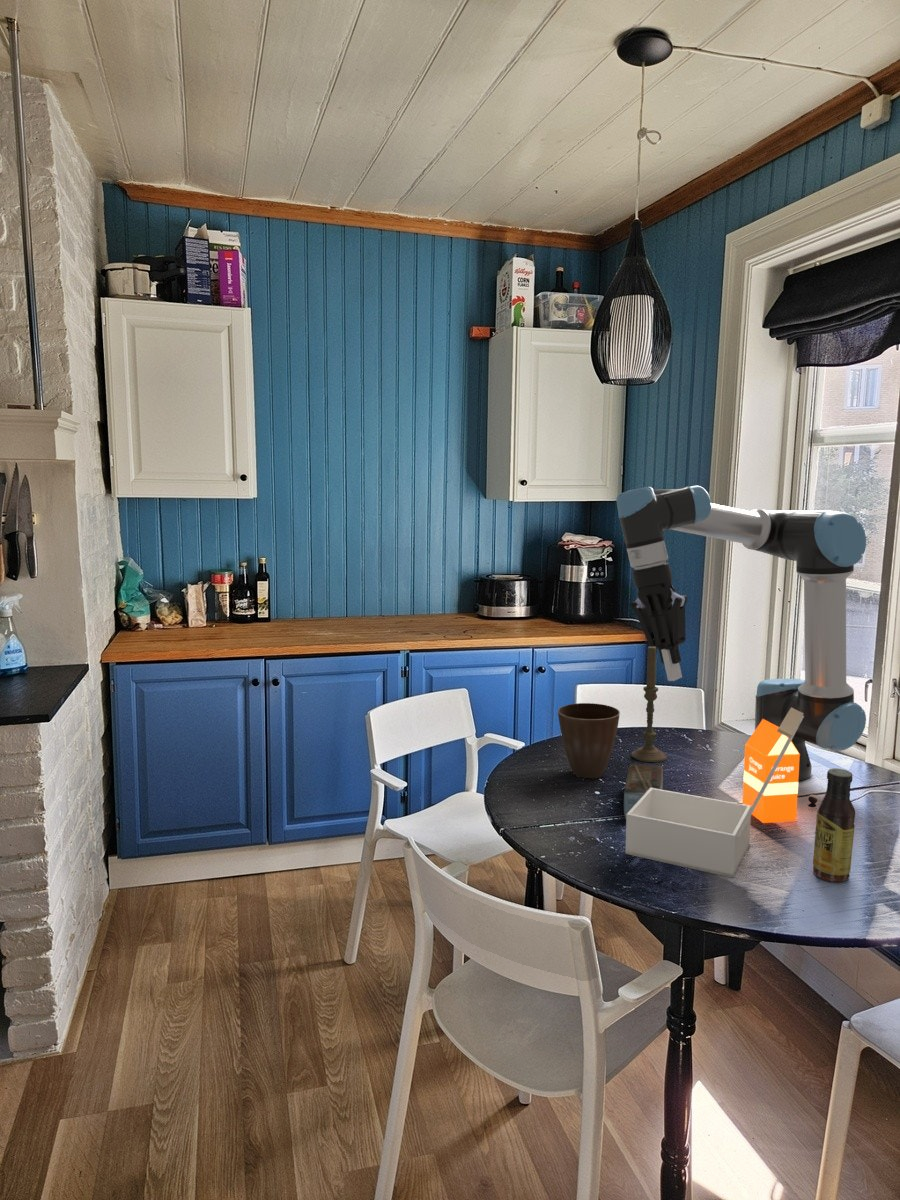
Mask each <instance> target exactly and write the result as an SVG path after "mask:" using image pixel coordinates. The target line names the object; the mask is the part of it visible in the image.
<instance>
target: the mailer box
mask: <svg viewBox="0 0 900 1200" xmlns="http://www.w3.org/2000/svg"><path fill="white" fill-rule="evenodd" d="M750 809H751V806H750V805H745V804H743V803H739V802H734V801H733V802H732V801H728V800H721V799H717V798H712V797H704V796H699V795H692V794H688V793H683V792H677V791H671V790H666V789H663V790H661V789H656V788H650V789H649V790H648V791H647V792H646V793H645V794H644V795H643V796H642V798H641V799H640V800H639V801H638V802H637V803H636V804H635V805H634V806H633V808H632V809H631V810H630V811H629V812H628V813H627V814H626V817H625V820H626V821H625V822H626V823H625V852H624V853H625V855H630V856H634V857H638V858H643V859H648V860H652V861H656V862H661V863H666V864H670V865H673V866H678V867H683V868H687V869H692V870H698V871H701V872H705V873H710V874H714V875H719V876H723V877H727V878H732V879H733V878H734V877H735V875H736V874H737V871H738V869H739V867H740V866H741V862H742V861H743V858H744V857H745V854H746V853H747V850H748V849H749V846H750V844H751V843H750V842H751V840H750V838H751V822H752V816H751V817H750V819H749V820H748V822H747V824H746V826H745V828H744V830H743V832H742V833H741V835H740V837H739V836H737V833H738V831H739V829H740V828H741V826H742V824H743V822H744V820H745V818H746V816H747V814H748V813H749V811H750Z"/></svg>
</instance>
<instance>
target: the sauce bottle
mask: <svg viewBox="0 0 900 1200" xmlns="http://www.w3.org/2000/svg"><path fill="white" fill-rule="evenodd" d="M826 779H827V784H826V785H827V786H826V791H825V792H826V793H825V794H824V796H823V798H822V801H821V803H820V805H819V807H818V809H817V811H816V820H815V821H816V822H815V831H814V834H815V835H814V844H813V845H814V846H813V847H814V848H813V857H812V866H813V867H812V868H813V869H812V870H813V873H814V875H816V877H818V878H820V879H823V881H827V882H834V883H842V882H846V881H848V880H849V878H850V873H851V870H852V869H851V867H852V859H853V849H854V848H853V846H854V837H855V836H854V835H855V819H856V810H855V807H854V805H853V803H852V801H851V799H850V797H851V786H852V785H851V784H852V782H853V773H852V772H851V771H849V770H847V769H843V768H834V767H833V768H830V769H828V771H827V773H826Z"/></svg>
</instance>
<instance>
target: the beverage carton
mask: <svg viewBox="0 0 900 1200" xmlns="http://www.w3.org/2000/svg"><path fill="white" fill-rule="evenodd" d="M663 778H664V771H663V766H662V765H661V764H655V765H654V764H647V763H642V764H641V763H631V762H630V763H629V767H628V770H627V775H626V779H625V785H624V792H623V815H624V818H626V814H627V813H628V812H629V811H630V810H631V809H632V808H633V806H634V805H635V804H636V803H637V802H638V801H639V800H640V799H641V798H642V796H643V795H644V794H645V793H646V792H647V791H648V790H649V789H650V788H656V789H661V790H664V789H663V787H664V785H663V784H664V779H663Z"/></svg>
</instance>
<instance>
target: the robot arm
mask: <svg viewBox="0 0 900 1200" xmlns="http://www.w3.org/2000/svg"><path fill="white" fill-rule="evenodd" d="M616 507H617V514H618V519H619V521H620V526H621V530H622V534H623V538H624V543H625V544H624V545H625V547H626V552H627V555H628V561H629V566H630V567H631V568H633V570H632V571H631V576H632V579H633V583H634V587H635V588H636V589H637V597H636V599H635V601H633V602H631V603H629V606H630V608H631V609H632V610H633V613H635V614H636V617H637V620H638V623H639V624H640V627H641V628H642V629H641V630H642V631H643V633H644V637H645V639H646V640H647V643H648V646H649V647H650V646H651V647H652V646H653V647H656V650H657V649H658V652H659V653H658V654H659V656H660V662H661V664H662V665H664V669H665V673H666V677H667V681H668V682H675V681H678V680H679V679H682V678H683V675H682V669H681V665H680V663H681V662H682V658H681V653H680V650H679V646H680V645H682V644H683V643H686V605H687V602H688V596H687V595H686V594H683V595H680V594H679V593H677V592H676V590H675V588H674V585H673V584H672V580H673V574H672V570H671V564H670V563H669V562H667V561H668V559H669V554H668V550H667V547H666V542H665V538H664V532H666V531H669V530H671V531H672V530H673V531H677V532H682V533H687V534H693V535H698V536H703V537H707V538H708V537H709V538H714V539H719V540H724V541H728V542H734V543H739V544H742V546H743V547H744V548H746V549H748V550H751V551H752V550H753V551H756V552H759V553H764V554H767V555H771V556H774V557H777V558H781V559H783V560H788V561H795V562H796V567H795V568H796V574H798V576H800V577H801V578H802V579H803V613H804V615H803V616H804V617H803V618H804V619H803V620H804V621H803V623H804V630H803V631H804V679H801V678H800V679H799V678H770V679H765V680H762V681H760V682H759V683H758V685H757V687H756V695H755V709H754V710H755V711H754V712H755V713H754V714H755V718H754V731H755V730H756V728H757V727H758V725H759V724H760V723H761V721H762V720H763V719H764V720H766V721H768V722H770V723H772V724H774V725H776V726H778V727H780V725H781V723H782V722H783V720H784V718H785V717H786V715H787V713H788V712H789V710H790V708H791V707H792V708H794V709H796V710H798V711H800V712H802V713H804V714H803V716H804V717H803V719H802V721H801V723H800V725H799V727H798V729H797V731H796V733H795V735H794V736H793V738H792V740H791V741H792V743H793V744H794V746H795V748H796V749H797V751H798V752H799V754H800V758H799V776H798V782H799V781H803V780H807V779H808V778H810V777H811V776H812V769H813V767H812V763H811V758H810V755H809V753H808V749H807V745H806V742H808V743H810V744H814V745H816V746H818V747H820V748H821V749H828V750H831V751H835V752H840V751H841V752H842V751H846V750H848V749H849V748H851V747H853V746H854V745H855V744H856V743H857V742H858V740H859V739H860V738H861V737H862V735H863V733H864V731H865V728H866V723H867V715H866V711H865V710H864V708H863V707H862V706H861V705H860V704H858V703H856V702H855V693H854V692H855V691H854V688H853V687H852V686H851V685H850V684H849V683H847V578H849V576H851V575H852V574H853V573H854V570H855V567H854V566H855V565H856V564H857V563H859V562H860V561H861V560H862V558H863V556H862V555H863V554H865V551H866V548H867V535H866V532H865V529H864V526H863V524H862V523H861V522H860V521H859V520H858V519H857V518H856V517H855V516H854V515H853V514H851V513H849V512H844V511H843V512H842V511H836V510H799V509H794V510H793V509H791V510H767V509H764V508H763V509H762V508H755V509H752V510H750V511H749V510H747V509H746V510H745V509H741V508H736V507H731V506H727V505H720V504H717V503H712V501H711V497H710V494H709V492H708V491H707V490H706V489H705V488H704V487H702V486H700V485H692V486H685V487H682V488H677V489H676V488H674V489H673V488H668V489H667V488H664V489H663V488H662V489H661V488H660V489H659V488H658V489H654V488H653V487H651V486H645V487H641V488H634V489H629V490H626V491H624V492H621V493H619V494H618V495H617V496H616Z"/></svg>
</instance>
